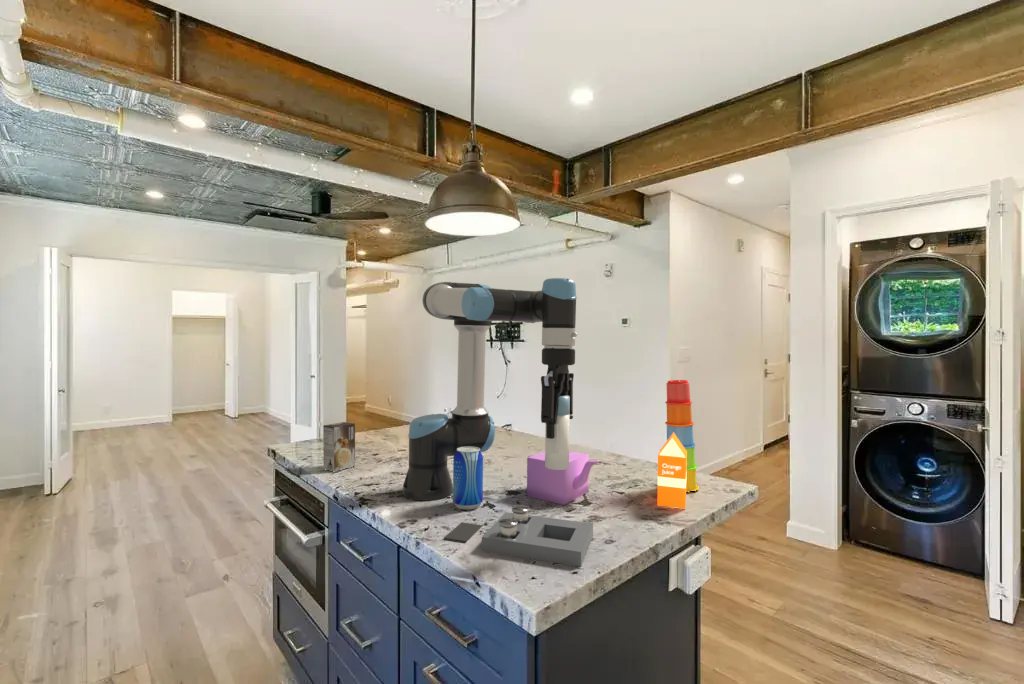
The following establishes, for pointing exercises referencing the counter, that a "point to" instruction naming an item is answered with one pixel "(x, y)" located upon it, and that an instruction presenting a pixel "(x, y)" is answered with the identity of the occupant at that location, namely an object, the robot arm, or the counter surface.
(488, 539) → the housing
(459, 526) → the mat
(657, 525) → the counter surface
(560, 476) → the teapot
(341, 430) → the coffee box
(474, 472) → the beer can
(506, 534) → the chrome dome knob
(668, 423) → the stacking cups
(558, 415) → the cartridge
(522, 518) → the plunger far
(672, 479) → the orange juice
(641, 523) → the counter surface
